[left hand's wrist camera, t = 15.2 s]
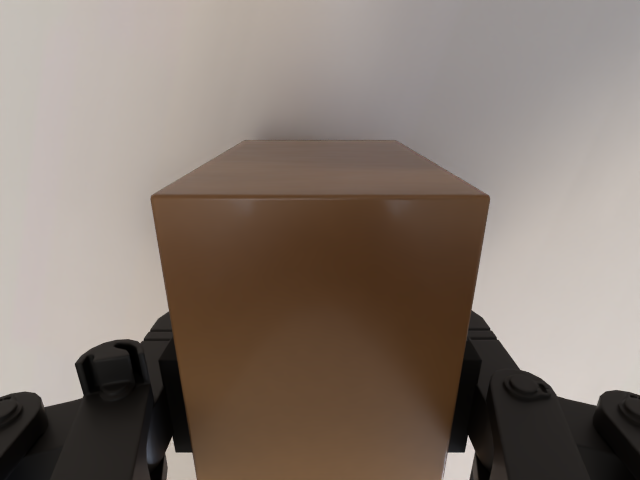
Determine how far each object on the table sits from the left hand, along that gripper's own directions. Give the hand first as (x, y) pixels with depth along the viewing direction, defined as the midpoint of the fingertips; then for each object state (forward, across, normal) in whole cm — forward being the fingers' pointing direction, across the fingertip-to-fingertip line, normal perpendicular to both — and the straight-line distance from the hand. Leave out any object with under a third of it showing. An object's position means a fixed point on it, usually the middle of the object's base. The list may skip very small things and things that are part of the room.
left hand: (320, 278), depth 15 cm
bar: (+1, 0, -23) cm, 23 cm away
